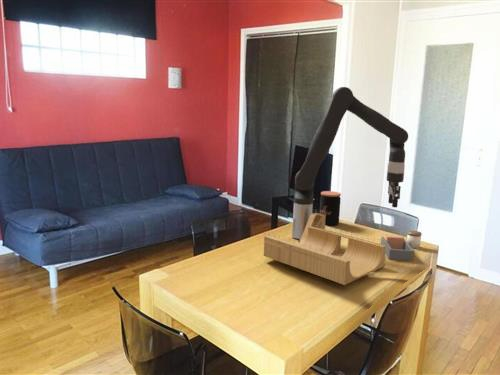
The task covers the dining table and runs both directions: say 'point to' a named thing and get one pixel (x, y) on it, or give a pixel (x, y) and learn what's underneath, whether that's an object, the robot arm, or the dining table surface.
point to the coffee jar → (330, 207)
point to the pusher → (395, 242)
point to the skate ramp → (327, 252)
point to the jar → (414, 239)
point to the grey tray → (399, 251)
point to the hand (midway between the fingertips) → (392, 205)
